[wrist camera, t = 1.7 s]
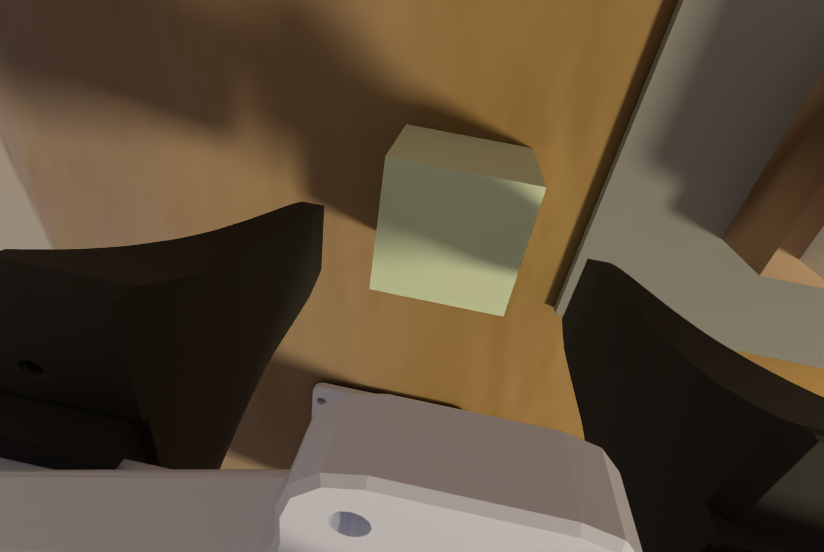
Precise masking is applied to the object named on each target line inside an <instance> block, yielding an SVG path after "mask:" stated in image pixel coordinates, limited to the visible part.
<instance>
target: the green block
mask: <svg viewBox="0 0 824 552" xmlns="http://www.w3.org/2000/svg"><path fill="white" fill-rule="evenodd" d="M545 190H546V185H545V182H544V179H543V176H542V173H541V170H540V167H539V165H538V162H537V159H536V156H535V153H534V150H533V148H529V147H523V146H518V145H513V144H508V143H502V142H497V141H492V140H487V139H482V138H476V137H471V136H466V135H461V134H455V133H450V132H445V131H440V130H434V129H429V128H424V127H419V126H413V125H408V124H406V125H405V127H404V128H403V130H402V131H401V133H400V134H399V136H398V137H397V139H396V140H395V142H394V144H393V145H392V147H391V148H390V150H389V151H388V153H387V154H386V156H385V163H384V171H383V180H382V188H381V196H380V205H379V213H378V221H377V230H376V238H375V246H374V255H373V263H372V271H371V280H370V288H369V289H372V290H377V291H382V292H387V293H391V294H396V295H401V296H406V297H411V298H416V299H421V300H426V301H430V302H435V303H440V304H445V305H450V306H455V307H460V308H464V309H469V310H474V311H479V312H484V313H489V314H494V315H499V316H504V313H505V310H506V307H507V304H508V301H509V298H510V295H511V292H512V289H513V286H514V283H515V280H516V277H517V274H518V271H519V268H520V265H521V262H522V259H523V256H524V253H525V250H526V247H527V244H528V241H529V238H530V235H531V232H532V229H533V226H534V223H535V220H536V217H537V214H538V211H539V208H540V205H541V202H542V199H543V196H544V193H545Z"/></svg>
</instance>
